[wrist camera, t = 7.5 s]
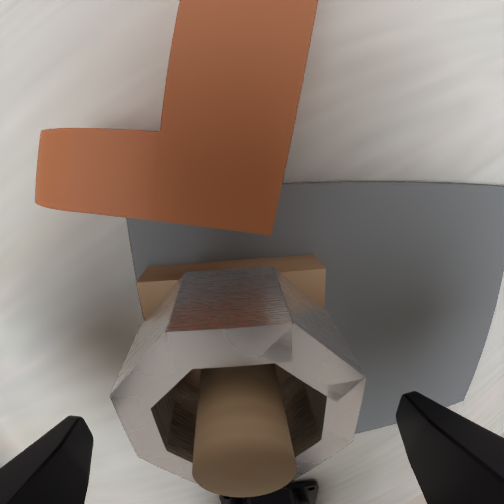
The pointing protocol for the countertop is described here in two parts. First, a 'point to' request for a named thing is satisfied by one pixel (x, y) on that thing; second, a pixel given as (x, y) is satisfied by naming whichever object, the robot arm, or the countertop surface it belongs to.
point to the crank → (197, 126)
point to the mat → (377, 275)
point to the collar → (237, 364)
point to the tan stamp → (239, 393)
